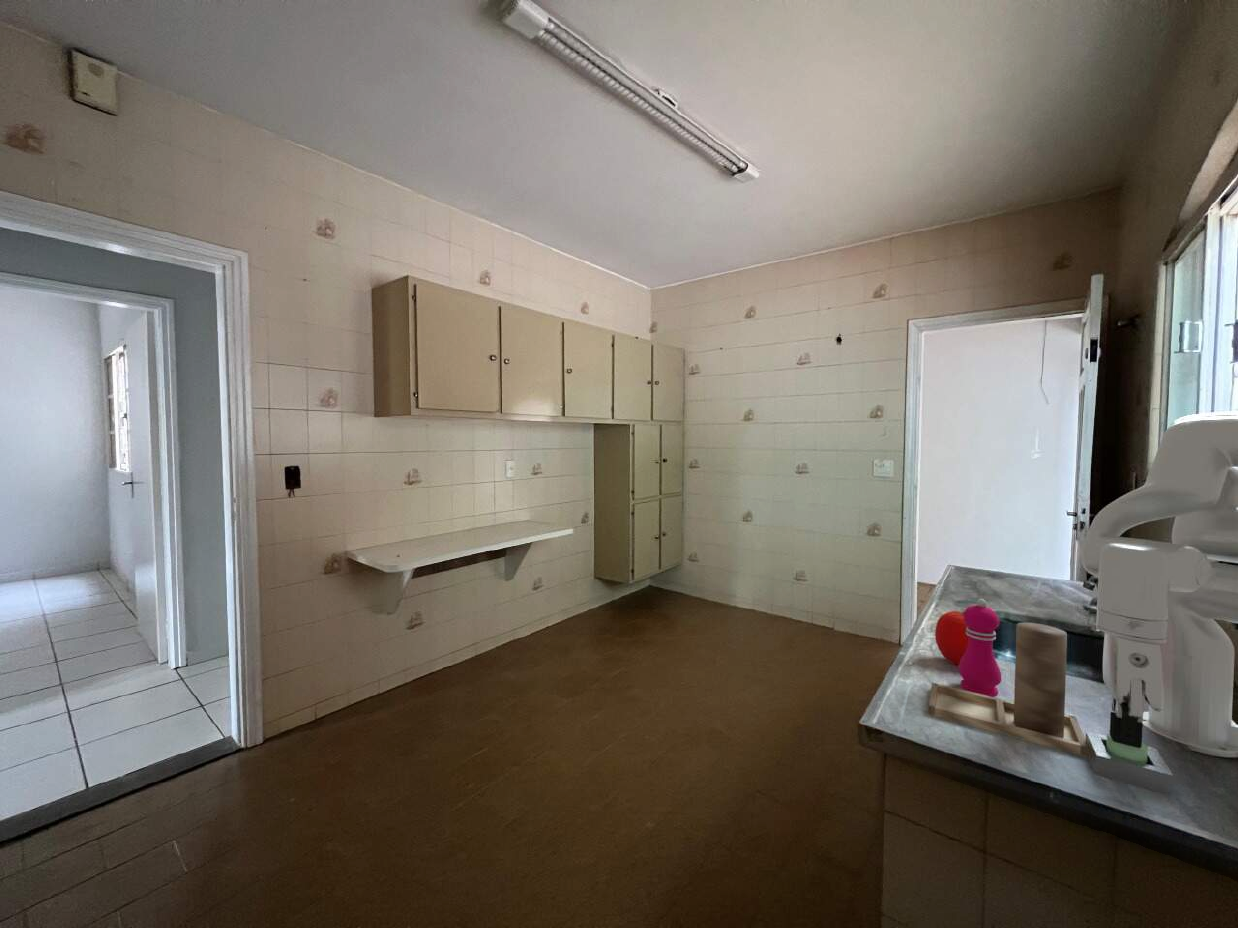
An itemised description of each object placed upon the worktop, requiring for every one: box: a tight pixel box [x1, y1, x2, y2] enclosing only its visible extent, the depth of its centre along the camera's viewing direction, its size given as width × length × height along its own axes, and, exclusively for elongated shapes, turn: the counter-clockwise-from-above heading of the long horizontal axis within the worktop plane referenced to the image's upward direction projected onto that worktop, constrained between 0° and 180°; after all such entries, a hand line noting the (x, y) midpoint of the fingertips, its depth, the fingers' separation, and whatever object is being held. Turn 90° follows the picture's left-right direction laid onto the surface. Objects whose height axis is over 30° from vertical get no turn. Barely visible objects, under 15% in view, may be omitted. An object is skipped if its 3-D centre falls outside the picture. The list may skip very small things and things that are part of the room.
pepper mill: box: [958, 598, 1002, 698], centre depth 101 cm, size 7×7×20 cm
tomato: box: [934, 610, 969, 667], centre depth 115 cm, size 11×11×13 cm
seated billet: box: [1013, 622, 1068, 738], centre depth 87 cm, size 7×7×18 cm
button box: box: [1085, 730, 1174, 797], centre depth 76 cm, size 8×8×4 cm
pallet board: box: [928, 682, 1089, 758], centre depth 90 cm, size 22×12×2 cm, turn 55°
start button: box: [1106, 733, 1149, 764], centre depth 76 cm, size 4×4×4 cm
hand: (1125, 742), depth 75 cm, fingers closed
